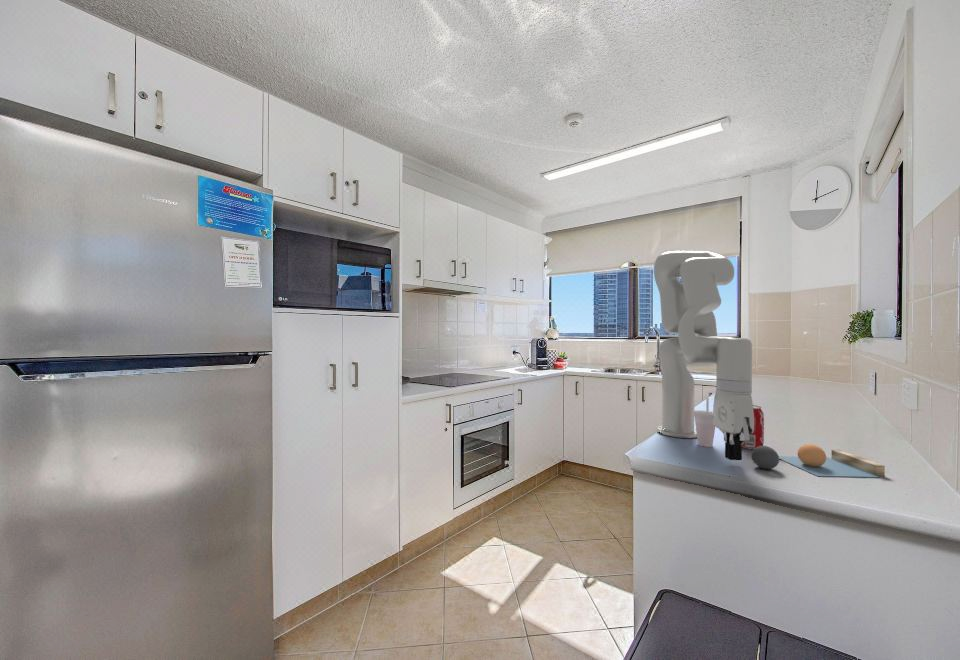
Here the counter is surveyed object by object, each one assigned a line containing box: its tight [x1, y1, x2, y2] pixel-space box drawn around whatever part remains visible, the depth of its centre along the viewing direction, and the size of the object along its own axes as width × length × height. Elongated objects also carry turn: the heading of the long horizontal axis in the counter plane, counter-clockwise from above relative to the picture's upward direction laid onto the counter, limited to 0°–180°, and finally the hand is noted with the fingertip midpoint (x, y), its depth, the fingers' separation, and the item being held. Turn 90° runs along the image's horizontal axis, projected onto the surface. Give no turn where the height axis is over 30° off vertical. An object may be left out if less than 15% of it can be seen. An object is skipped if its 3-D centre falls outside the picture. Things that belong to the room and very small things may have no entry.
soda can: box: [742, 404, 765, 450], centre depth 114 cm, size 7×7×12 cm
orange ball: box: [797, 443, 827, 467], centre depth 97 cm, size 6×6×6 cm
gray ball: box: [751, 445, 780, 470], centre depth 96 cm, size 6×6×6 cm
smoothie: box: [693, 397, 716, 448], centre depth 115 cm, size 6×6×14 cm
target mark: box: [778, 455, 881, 479], centre depth 97 cm, size 14×14×1 cm
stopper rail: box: [831, 449, 886, 477], centre depth 97 cm, size 12×2×2 cm, turn 178°
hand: (733, 458), depth 98 cm, fingers closed
